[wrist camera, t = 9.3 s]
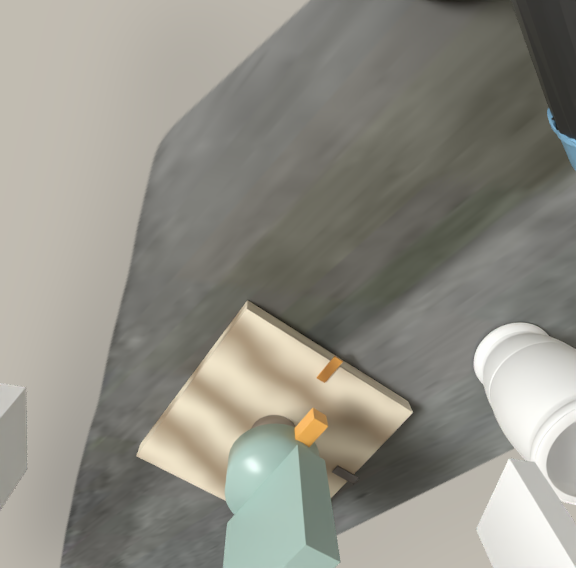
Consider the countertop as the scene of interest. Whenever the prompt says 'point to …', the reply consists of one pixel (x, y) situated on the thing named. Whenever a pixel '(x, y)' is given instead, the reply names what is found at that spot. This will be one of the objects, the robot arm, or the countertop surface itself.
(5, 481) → the robot arm
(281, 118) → the countertop surface
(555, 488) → the jar
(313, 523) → the mint bar with ball
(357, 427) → the base
